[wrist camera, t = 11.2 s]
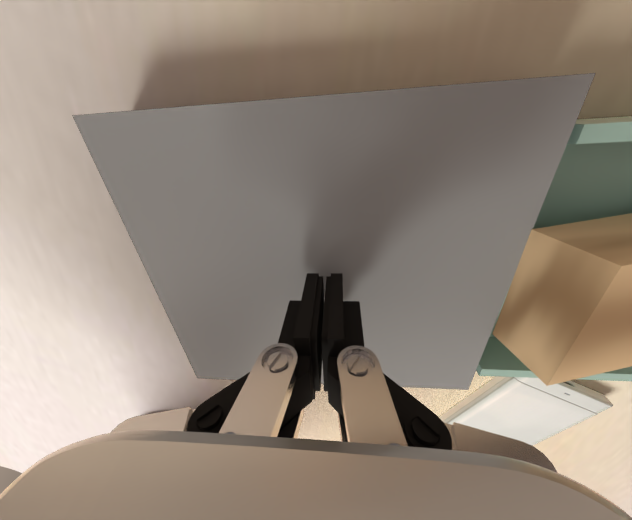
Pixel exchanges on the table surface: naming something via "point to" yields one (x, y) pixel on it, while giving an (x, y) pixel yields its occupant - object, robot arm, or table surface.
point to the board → (339, 213)
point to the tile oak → (572, 300)
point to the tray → (579, 210)
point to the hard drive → (526, 408)
